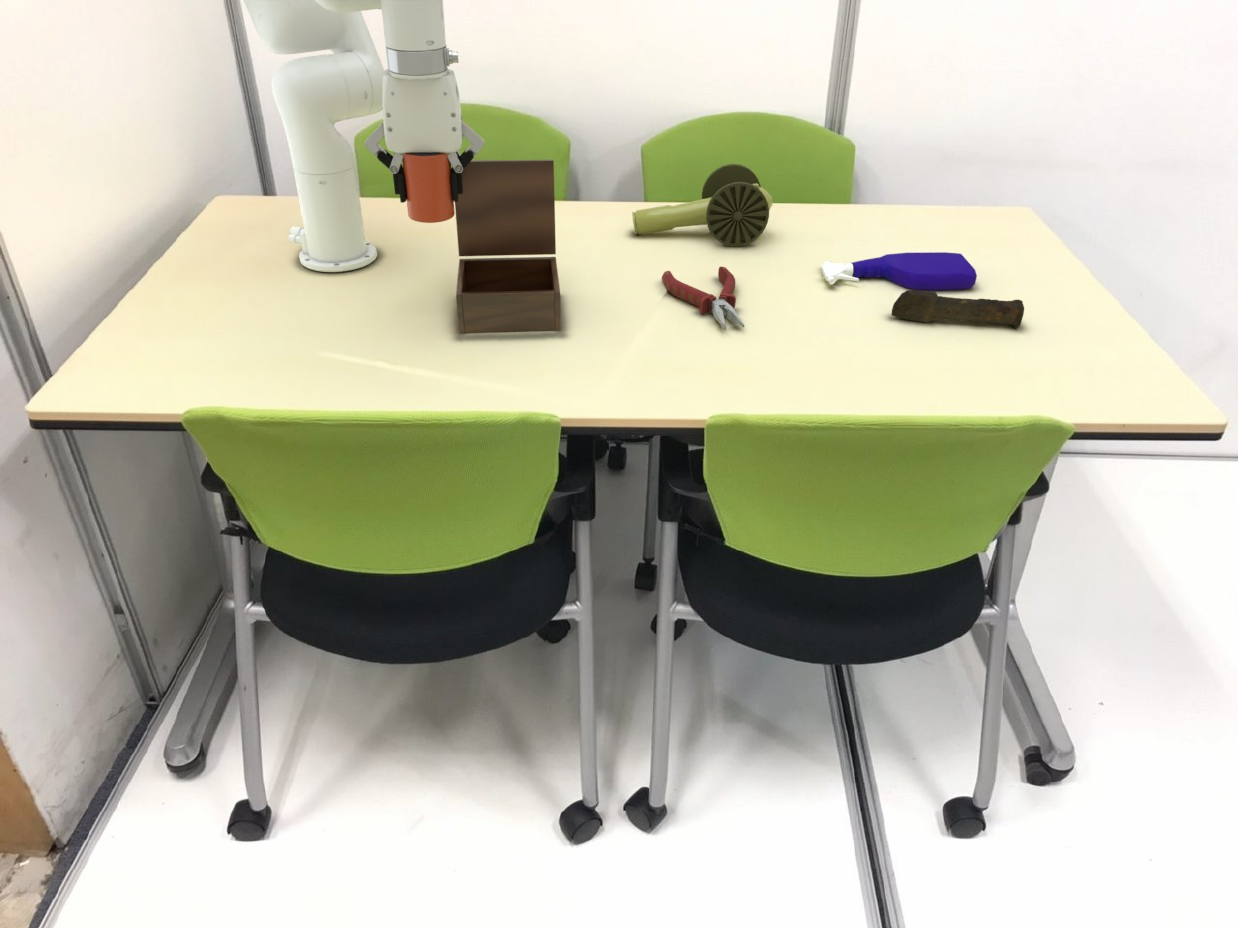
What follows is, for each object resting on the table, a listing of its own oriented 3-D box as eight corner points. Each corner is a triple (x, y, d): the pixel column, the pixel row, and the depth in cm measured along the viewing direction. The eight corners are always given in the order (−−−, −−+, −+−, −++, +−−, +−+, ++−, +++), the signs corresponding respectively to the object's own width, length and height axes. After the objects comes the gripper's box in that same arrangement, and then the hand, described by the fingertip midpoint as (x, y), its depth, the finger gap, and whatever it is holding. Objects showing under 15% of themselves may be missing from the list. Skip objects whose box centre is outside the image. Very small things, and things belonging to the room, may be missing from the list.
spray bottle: (960, 249, 158) (816, 251, 157) (983, 275, 149) (831, 277, 148) (956, 266, 160) (814, 267, 159) (978, 292, 151) (828, 294, 150)
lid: (553, 160, 135) (552, 153, 139) (451, 161, 133) (453, 154, 138) (555, 254, 141) (554, 244, 146) (458, 256, 140) (460, 246, 144)
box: (560, 335, 135) (560, 292, 131) (459, 338, 134) (455, 294, 130) (556, 297, 146) (555, 256, 142) (462, 299, 144) (459, 258, 141)
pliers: (697, 338, 135) (698, 322, 134) (659, 283, 151) (659, 268, 150) (770, 331, 138) (772, 315, 136) (725, 278, 154) (727, 263, 152)
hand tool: (1014, 320, 143) (1022, 291, 140) (1020, 331, 139) (1028, 302, 137) (889, 310, 145) (894, 283, 142) (891, 322, 141) (897, 293, 139)
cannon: (632, 246, 164) (633, 182, 158) (630, 222, 174) (632, 161, 167) (772, 248, 165) (780, 185, 158) (763, 224, 174) (770, 163, 168)
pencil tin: (399, 219, 128) (392, 153, 123) (421, 204, 133) (415, 140, 128) (442, 225, 127) (436, 159, 122) (462, 210, 132) (457, 145, 127)
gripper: (485, 55, 122) (492, 189, 133) (351, 54, 120) (368, 190, 131) (485, 68, 116) (493, 207, 127) (344, 67, 114) (363, 209, 125)
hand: (429, 198), depth 129 cm, fingers closed on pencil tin, 6 cm apart
